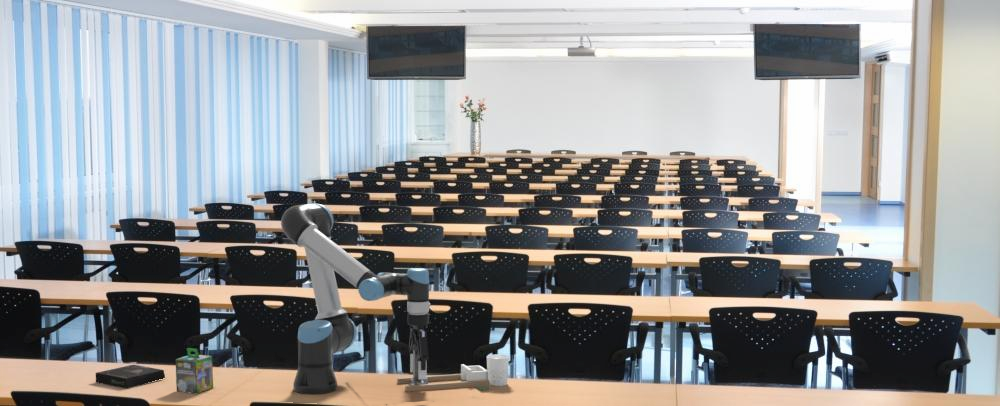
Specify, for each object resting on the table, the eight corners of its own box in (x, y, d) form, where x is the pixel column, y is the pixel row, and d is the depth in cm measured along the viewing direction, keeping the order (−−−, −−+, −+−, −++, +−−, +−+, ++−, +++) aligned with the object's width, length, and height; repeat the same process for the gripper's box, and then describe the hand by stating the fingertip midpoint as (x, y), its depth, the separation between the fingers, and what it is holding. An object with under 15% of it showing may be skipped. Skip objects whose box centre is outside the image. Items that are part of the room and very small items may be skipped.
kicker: (414, 388, 382) (414, 345, 381) (409, 384, 389) (409, 342, 388) (428, 387, 384) (428, 344, 383) (423, 383, 391) (423, 341, 390)
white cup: (506, 387, 391) (506, 359, 390) (484, 386, 392) (484, 358, 392) (510, 382, 398) (510, 354, 398) (489, 381, 400) (489, 353, 399)
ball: (467, 383, 390) (468, 373, 390) (464, 381, 394) (465, 371, 394) (476, 384, 391) (478, 374, 391) (473, 382, 395) (475, 372, 395)
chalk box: (213, 388, 387) (213, 346, 386) (196, 394, 379) (195, 351, 378) (193, 385, 391) (192, 344, 390) (175, 391, 383) (174, 349, 382)
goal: (469, 386, 387) (469, 370, 387) (460, 380, 397) (460, 364, 396) (488, 385, 389) (488, 368, 389) (479, 378, 399) (479, 363, 398)
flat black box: (165, 380, 401) (164, 369, 401) (126, 389, 387) (126, 378, 386) (134, 374, 410) (134, 364, 410) (95, 383, 395) (95, 372, 395)
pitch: (406, 395, 378) (406, 386, 378) (397, 386, 391) (397, 378, 391) (489, 388, 388) (489, 380, 388) (478, 380, 400) (478, 372, 400)
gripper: (437, 318, 375) (437, 382, 376) (420, 307, 397) (420, 367, 398) (416, 319, 372) (416, 383, 374) (399, 308, 394) (399, 369, 396)
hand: (418, 375), depth 386 cm, fingers open, 11 cm apart
